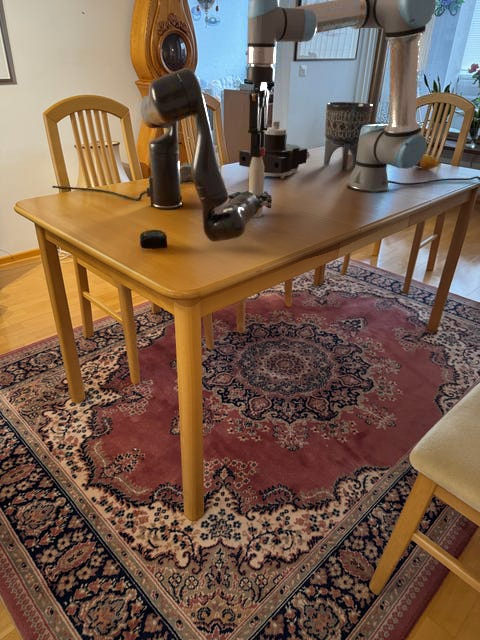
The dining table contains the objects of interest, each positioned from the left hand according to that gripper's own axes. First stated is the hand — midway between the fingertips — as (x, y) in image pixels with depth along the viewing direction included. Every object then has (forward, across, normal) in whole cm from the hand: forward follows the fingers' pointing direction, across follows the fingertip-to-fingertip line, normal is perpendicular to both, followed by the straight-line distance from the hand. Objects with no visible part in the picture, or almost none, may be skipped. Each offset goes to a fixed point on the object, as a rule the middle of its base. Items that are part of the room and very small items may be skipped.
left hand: (257, 193), depth 143 cm
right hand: (-3, 0, -12) cm, 12 cm away
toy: (+95, -55, +6) cm, 110 cm away
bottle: (-3, 0, +6) cm, 7 cm away
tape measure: (-40, +17, +6) cm, 43 cm away
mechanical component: (+59, +5, +6) cm, 59 cm away
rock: (+32, +36, +6) cm, 48 cm away
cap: (-3, 0, -14) cm, 14 cm away
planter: (+83, -19, +6) cm, 85 cm away
